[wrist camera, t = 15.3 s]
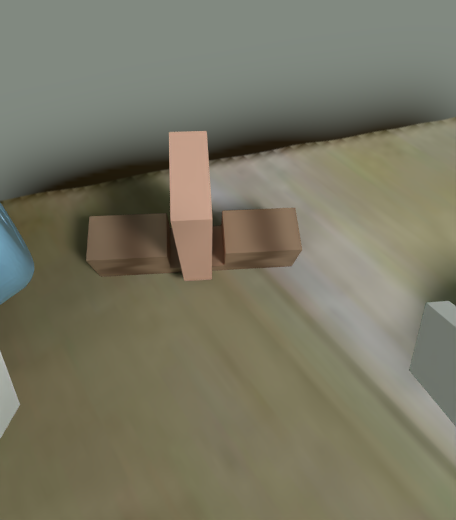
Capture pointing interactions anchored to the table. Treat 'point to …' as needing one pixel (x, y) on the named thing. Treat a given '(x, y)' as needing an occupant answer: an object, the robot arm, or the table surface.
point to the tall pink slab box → (191, 203)
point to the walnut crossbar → (165, 251)
